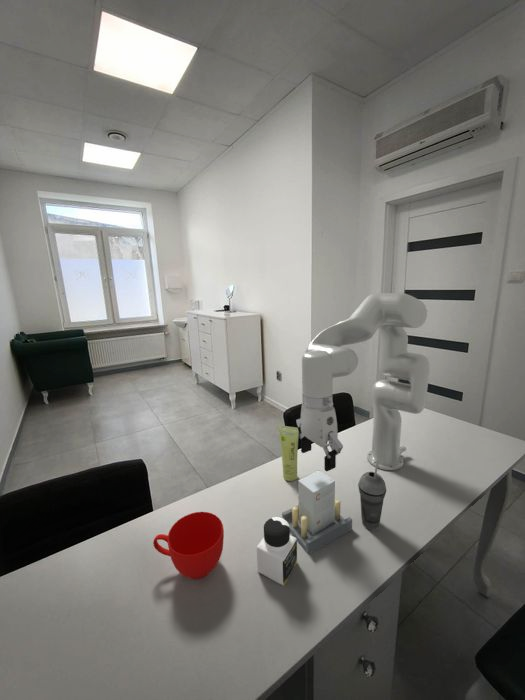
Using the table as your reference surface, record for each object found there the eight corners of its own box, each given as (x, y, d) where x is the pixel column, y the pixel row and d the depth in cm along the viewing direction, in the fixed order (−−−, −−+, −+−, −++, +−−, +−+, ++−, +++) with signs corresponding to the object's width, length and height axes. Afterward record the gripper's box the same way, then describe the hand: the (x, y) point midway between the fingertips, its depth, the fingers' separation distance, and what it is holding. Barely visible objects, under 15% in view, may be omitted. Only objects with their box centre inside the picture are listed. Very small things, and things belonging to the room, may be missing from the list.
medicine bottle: (283, 587, 67) (282, 542, 65) (257, 572, 71) (255, 528, 68) (297, 562, 73) (297, 520, 71) (272, 549, 77) (271, 509, 74)
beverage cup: (364, 509, 89) (367, 449, 85) (388, 523, 84) (392, 458, 80) (351, 523, 84) (354, 459, 80) (377, 538, 79) (380, 471, 75)
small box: (318, 508, 89) (319, 469, 86) (335, 521, 84) (335, 480, 81) (297, 521, 84) (297, 480, 82) (313, 535, 79) (313, 492, 76)
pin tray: (323, 502, 93) (323, 483, 91) (351, 529, 82) (352, 508, 81) (282, 522, 85) (281, 502, 84) (308, 554, 75) (308, 531, 74)
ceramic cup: (166, 544, 80) (162, 511, 77) (229, 544, 79) (227, 511, 77) (146, 593, 67) (140, 555, 65) (221, 593, 66) (218, 555, 64)
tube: (284, 483, 102) (283, 431, 98) (279, 474, 107) (278, 424, 103) (299, 480, 104) (299, 428, 100) (294, 471, 109) (293, 421, 104)
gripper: (353, 407, 70) (352, 471, 74) (308, 387, 85) (308, 441, 89) (329, 415, 67) (328, 482, 71) (286, 392, 82) (287, 449, 85)
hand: (317, 459), depth 80 cm, fingers open, 9 cm apart
